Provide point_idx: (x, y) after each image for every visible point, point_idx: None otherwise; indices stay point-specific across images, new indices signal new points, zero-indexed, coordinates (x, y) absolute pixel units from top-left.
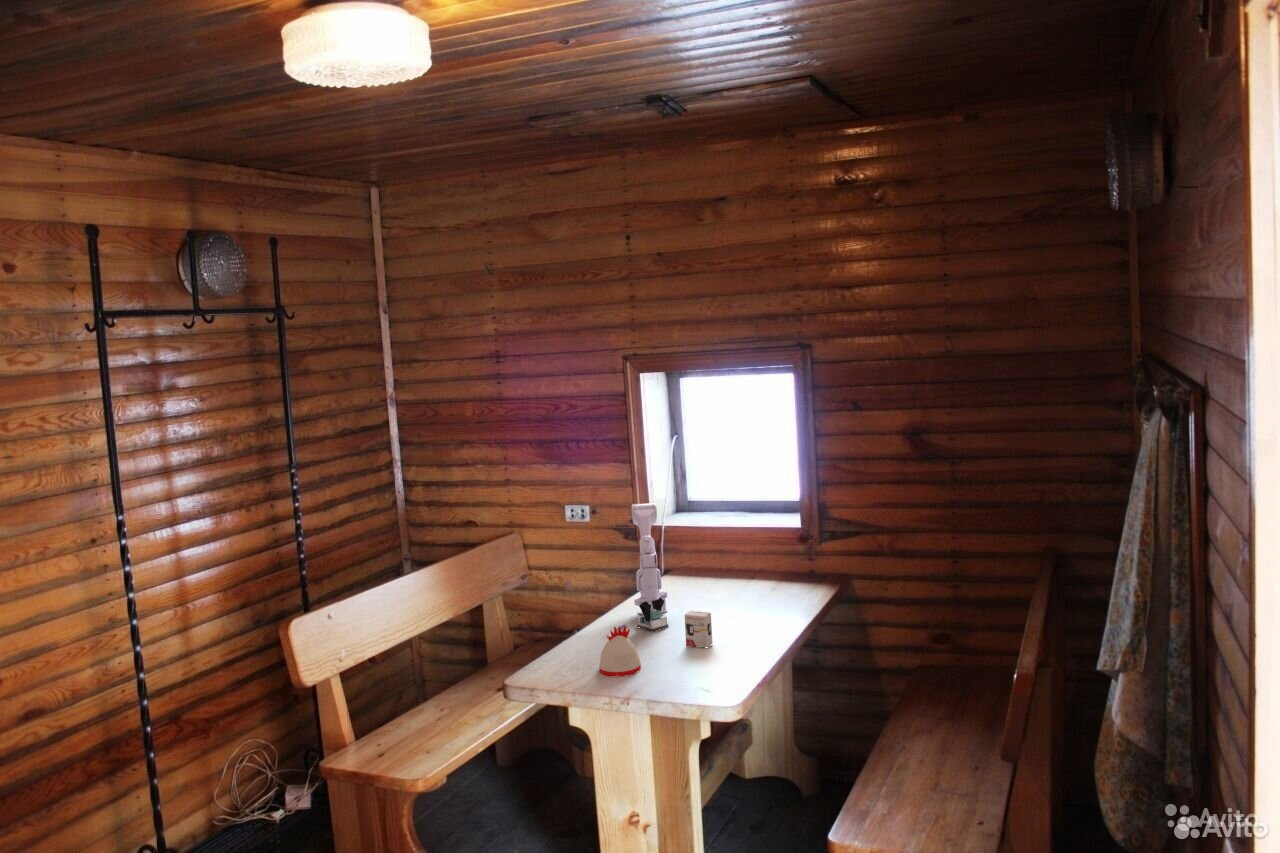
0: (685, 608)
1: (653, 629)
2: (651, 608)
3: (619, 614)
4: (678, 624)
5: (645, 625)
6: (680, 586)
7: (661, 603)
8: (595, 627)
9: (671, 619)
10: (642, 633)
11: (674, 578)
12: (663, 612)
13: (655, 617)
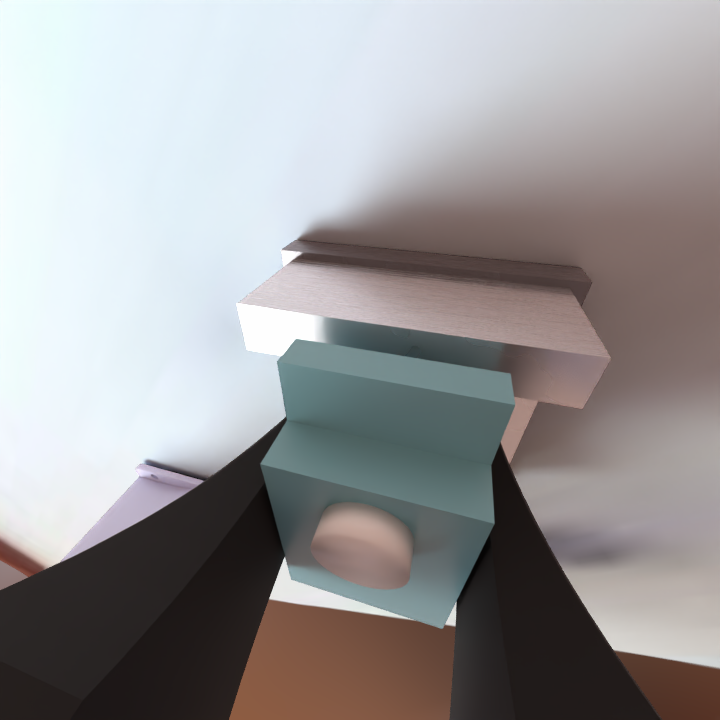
0: (36, 416)
1: (561, 276)
2: (297, 579)
3: (348, 599)
4: (166, 212)
5: (520, 424)
6: (30, 531)
7: (92, 613)
8: (620, 647)
9: (170, 368)
10: (696, 339)
11: (41, 558)
12: (165, 471)
13: (491, 383)
